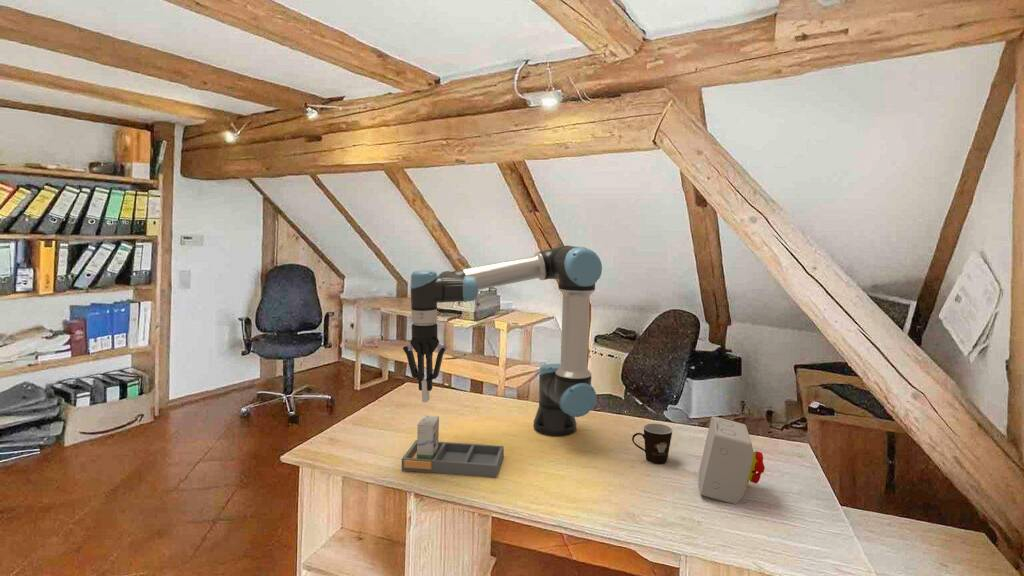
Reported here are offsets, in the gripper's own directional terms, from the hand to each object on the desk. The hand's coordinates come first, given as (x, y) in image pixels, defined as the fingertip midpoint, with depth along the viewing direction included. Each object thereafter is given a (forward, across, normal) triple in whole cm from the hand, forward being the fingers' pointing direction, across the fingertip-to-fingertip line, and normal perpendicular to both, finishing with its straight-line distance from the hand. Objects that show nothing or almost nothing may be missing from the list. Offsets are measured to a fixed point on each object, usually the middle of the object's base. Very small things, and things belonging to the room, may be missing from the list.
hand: (425, 400), depth 166 cm
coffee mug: (+20, +68, +13) cm, 72 cm away
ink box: (+18, 0, 0) cm, 18 cm away
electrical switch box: (+20, +87, -5) cm, 89 cm away
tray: (+19, +8, 0) cm, 21 cm away
